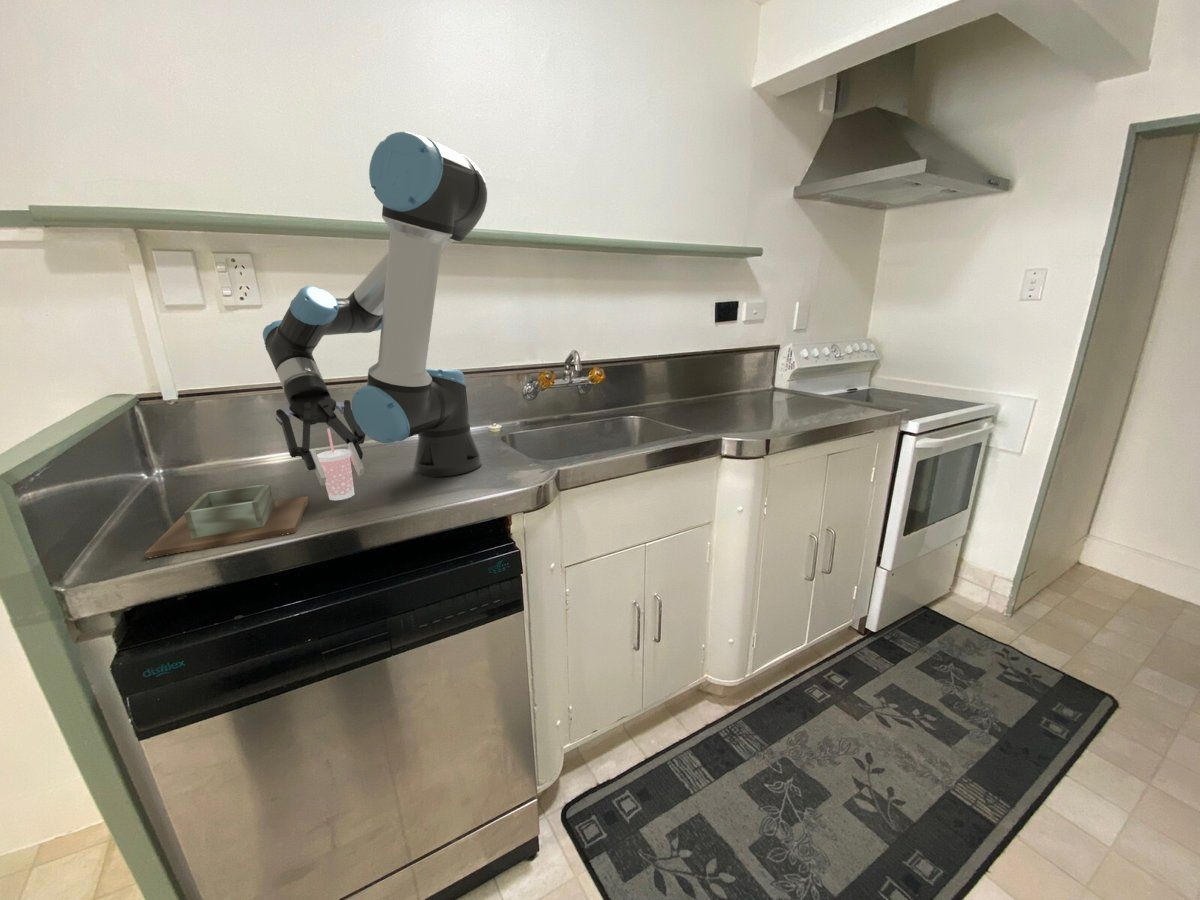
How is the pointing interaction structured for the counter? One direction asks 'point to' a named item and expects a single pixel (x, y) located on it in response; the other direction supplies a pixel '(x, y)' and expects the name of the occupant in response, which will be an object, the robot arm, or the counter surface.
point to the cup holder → (231, 520)
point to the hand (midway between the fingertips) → (342, 476)
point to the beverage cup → (337, 472)
